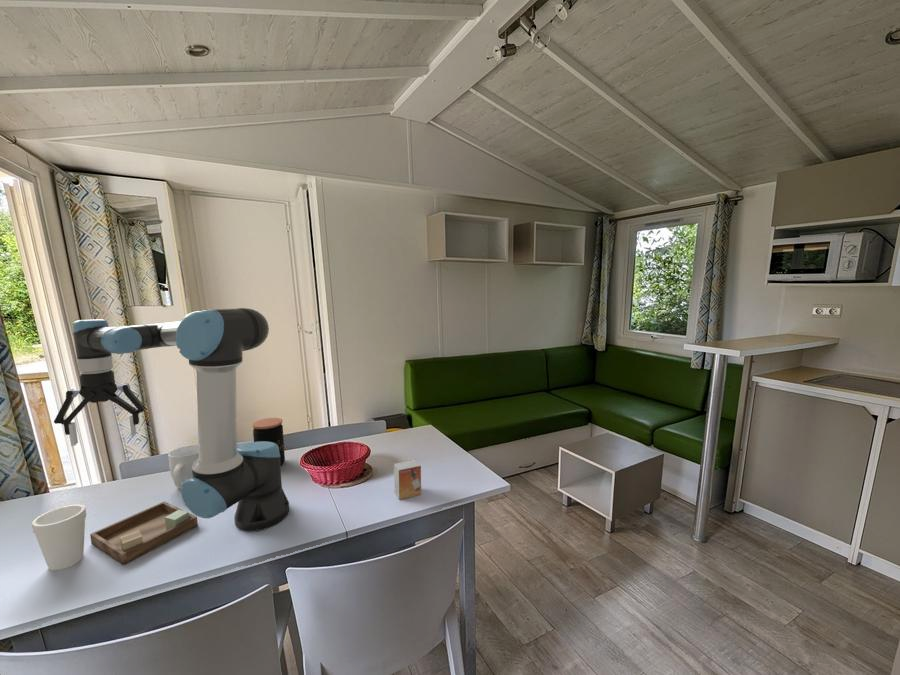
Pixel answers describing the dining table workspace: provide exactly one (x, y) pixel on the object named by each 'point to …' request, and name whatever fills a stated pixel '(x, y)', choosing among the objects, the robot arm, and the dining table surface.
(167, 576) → the dining table surface
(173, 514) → the block
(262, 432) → the coffee jar
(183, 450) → the mug
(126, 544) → the block
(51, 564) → the foam cup
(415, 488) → the small box
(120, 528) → the tray
